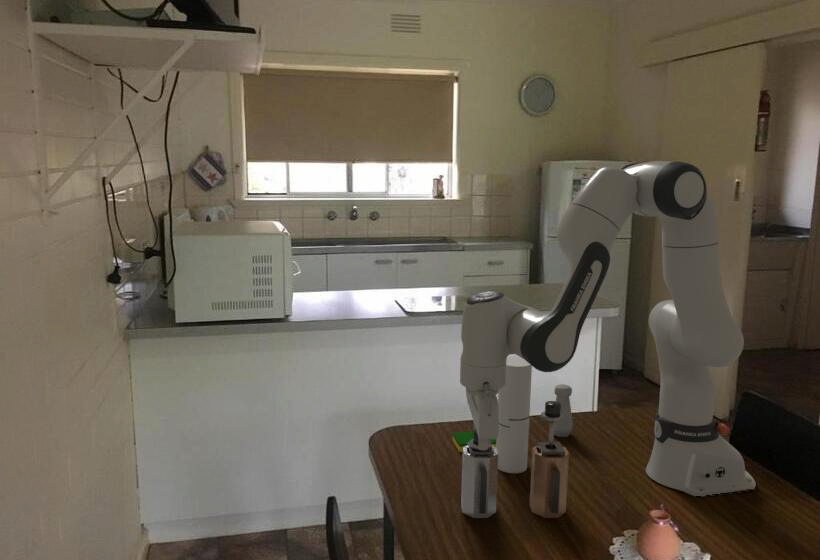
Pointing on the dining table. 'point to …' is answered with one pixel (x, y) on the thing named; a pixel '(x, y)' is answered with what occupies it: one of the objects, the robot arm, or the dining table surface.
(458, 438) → the dish sponge
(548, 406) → the copper press plunger
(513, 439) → the cylindrical container
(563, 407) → the salt shaker
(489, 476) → the steel press carafe
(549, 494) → the copper press carafe
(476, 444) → the steel press plunger
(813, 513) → the dining table surface
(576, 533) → the dining table surface
